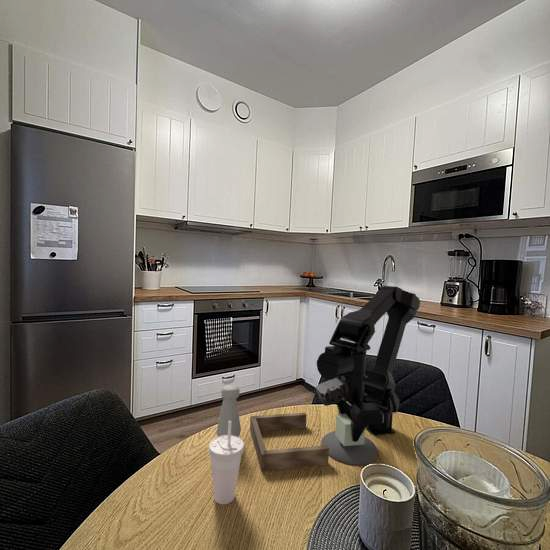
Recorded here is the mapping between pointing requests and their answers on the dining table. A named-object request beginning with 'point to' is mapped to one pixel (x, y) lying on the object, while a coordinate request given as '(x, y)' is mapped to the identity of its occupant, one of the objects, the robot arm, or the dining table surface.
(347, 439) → the block
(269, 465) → the bay
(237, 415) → the salt shaker
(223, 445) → the smoothie
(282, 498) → the dining table surface
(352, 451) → the coaster
